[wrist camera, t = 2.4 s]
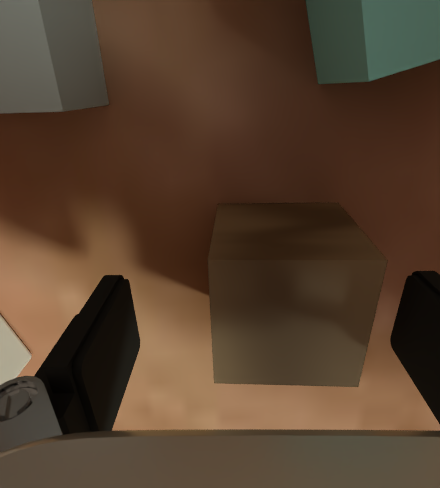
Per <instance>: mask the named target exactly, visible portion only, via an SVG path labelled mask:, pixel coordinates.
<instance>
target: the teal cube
mask: <svg viewBox="0 0 440 488" xmlns="http://www.w3.org/2000/svg"><path fill="white" fill-rule="evenodd" d="M306 7H307V14H308V20H309V27H310V33H311V40H312V46H313V53H314V60H315V66H316V73H317V79H318V84H332V83H351V82H369V81H372V80H376V79H379V78H382V77H385V76H388V75H391V74H395V73H398V72H401V71H404V70H407V69H411V68H414V67H417V66H420V65H423V64H427V63H430V62H433V61H436V60H439V59H440V0H306Z"/></svg>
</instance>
